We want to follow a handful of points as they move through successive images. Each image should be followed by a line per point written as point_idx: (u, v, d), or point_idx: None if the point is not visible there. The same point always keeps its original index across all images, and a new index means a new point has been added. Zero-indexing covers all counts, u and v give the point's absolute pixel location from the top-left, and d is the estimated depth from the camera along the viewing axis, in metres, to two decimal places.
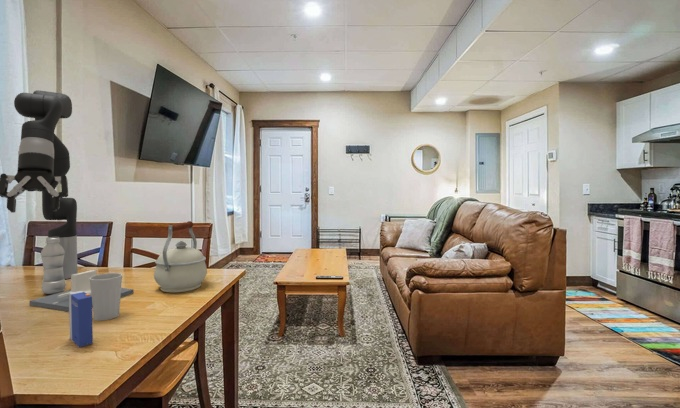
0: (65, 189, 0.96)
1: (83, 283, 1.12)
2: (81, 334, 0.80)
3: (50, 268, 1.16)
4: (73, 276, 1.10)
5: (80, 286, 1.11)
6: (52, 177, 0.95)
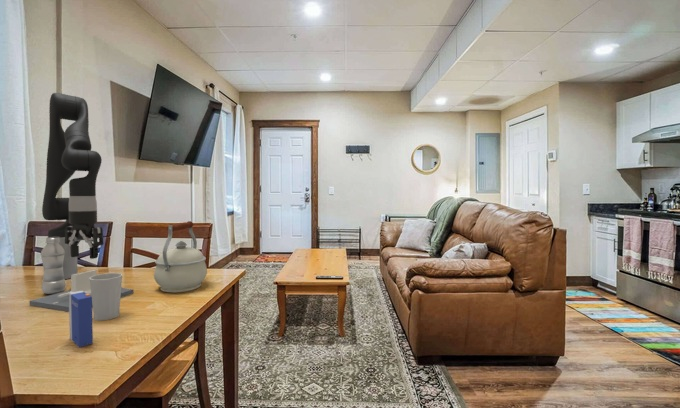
0: (95, 241, 1.10)
1: (83, 283, 1.12)
2: (81, 334, 0.80)
3: (50, 268, 1.16)
4: (73, 276, 1.10)
5: (80, 286, 1.11)
6: (88, 229, 1.11)
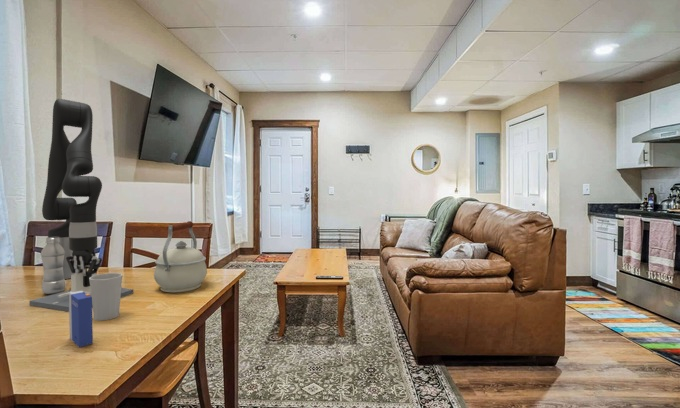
0: (89, 271, 1.11)
1: None
2: (81, 334, 0.80)
3: (50, 268, 1.16)
4: (73, 276, 1.10)
5: (80, 286, 1.11)
6: (88, 257, 1.11)
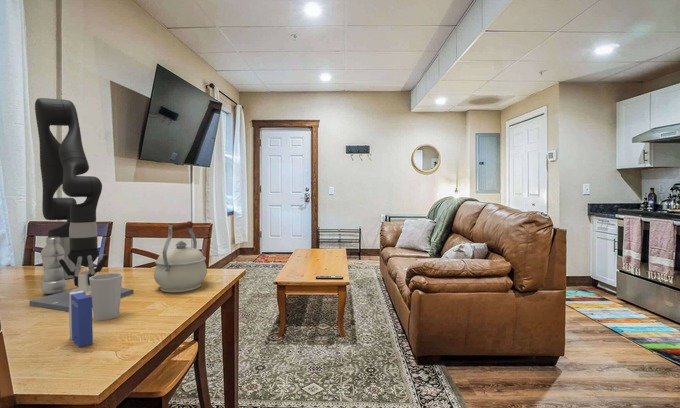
0: (101, 267, 1.16)
1: (87, 282, 1.13)
2: (81, 334, 0.80)
3: (50, 268, 1.16)
4: (82, 276, 1.10)
5: (86, 285, 1.12)
6: (97, 254, 1.15)
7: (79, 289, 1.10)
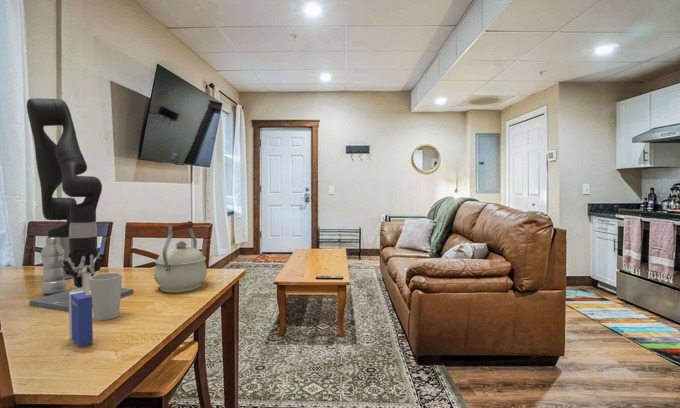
0: (100, 266, 1.17)
1: None
2: (81, 334, 0.80)
3: (50, 268, 1.16)
4: (87, 275, 1.11)
5: None
6: (97, 254, 1.16)
7: (85, 288, 1.11)
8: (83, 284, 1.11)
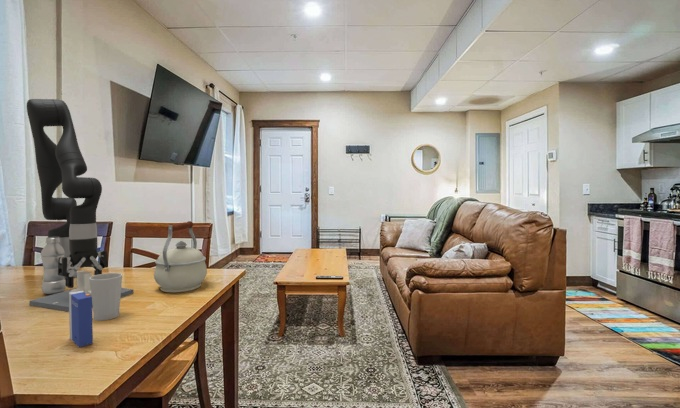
0: (106, 263, 1.19)
1: None
2: (81, 334, 0.80)
3: (50, 268, 1.16)
4: (88, 275, 1.11)
5: None
6: (97, 254, 1.16)
7: (85, 288, 1.11)
8: (83, 284, 1.11)
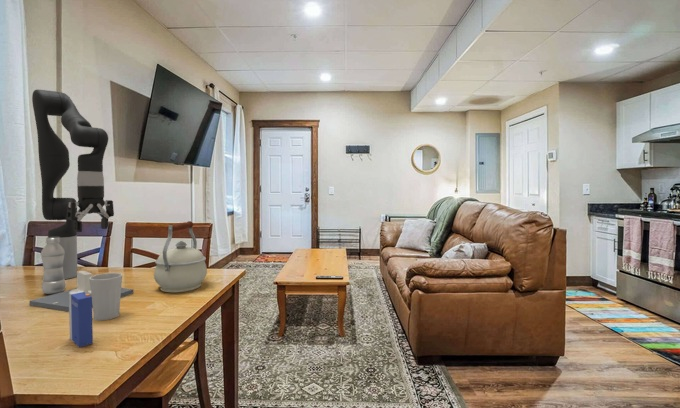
0: (112, 212, 1.24)
1: None
2: (81, 334, 0.80)
3: (50, 268, 1.16)
4: (88, 275, 1.11)
5: None
6: (104, 202, 1.21)
7: (85, 288, 1.11)
8: (83, 284, 1.11)
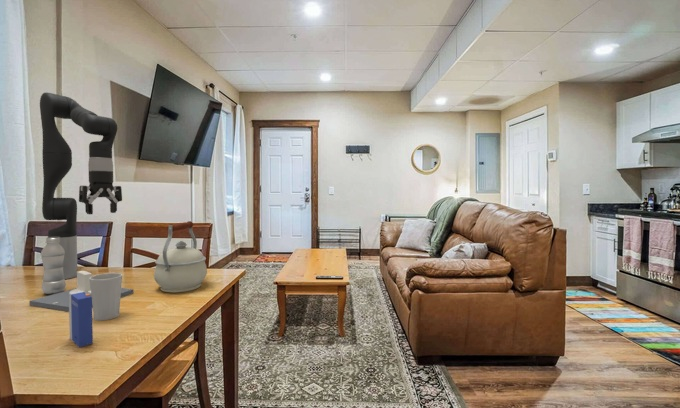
0: (121, 197, 1.31)
1: None
2: (81, 334, 0.80)
3: (50, 268, 1.16)
4: (88, 275, 1.11)
5: None
6: (113, 188, 1.29)
7: (85, 288, 1.11)
8: (83, 284, 1.11)
